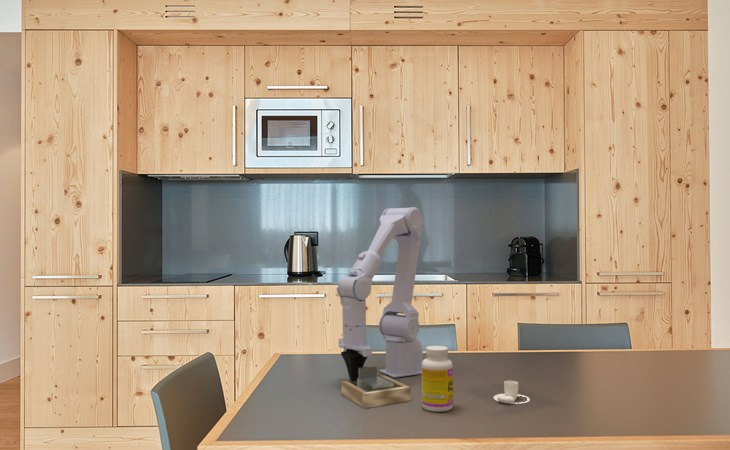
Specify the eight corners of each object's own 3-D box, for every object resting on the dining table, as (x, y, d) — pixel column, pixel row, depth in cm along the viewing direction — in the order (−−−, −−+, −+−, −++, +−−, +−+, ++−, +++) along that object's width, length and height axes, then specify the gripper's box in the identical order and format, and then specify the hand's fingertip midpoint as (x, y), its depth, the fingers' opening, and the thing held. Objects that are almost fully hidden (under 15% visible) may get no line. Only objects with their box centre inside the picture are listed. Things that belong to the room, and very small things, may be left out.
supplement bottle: (452, 413, 121) (451, 351, 121) (420, 412, 122) (419, 350, 122) (454, 404, 128) (453, 345, 128) (423, 402, 129) (422, 344, 129)
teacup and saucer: (506, 408, 125) (506, 389, 125) (483, 399, 132) (483, 381, 132) (537, 402, 129) (537, 384, 129) (513, 393, 136) (513, 376, 136)
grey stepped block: (356, 394, 136) (356, 368, 136) (377, 391, 138) (377, 365, 138) (372, 403, 128) (372, 375, 128) (394, 400, 131) (394, 372, 131)
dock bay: (384, 387, 141) (384, 375, 141) (410, 400, 130) (410, 387, 130) (341, 394, 136) (341, 381, 136) (364, 408, 125) (364, 394, 125)
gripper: (327, 322, 148) (328, 376, 147) (352, 330, 135) (353, 390, 135) (352, 320, 151) (353, 372, 151) (379, 328, 138) (380, 385, 138)
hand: (355, 380), depth 143 cm, fingers closed
